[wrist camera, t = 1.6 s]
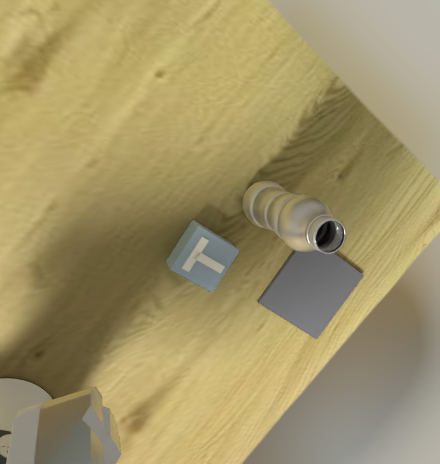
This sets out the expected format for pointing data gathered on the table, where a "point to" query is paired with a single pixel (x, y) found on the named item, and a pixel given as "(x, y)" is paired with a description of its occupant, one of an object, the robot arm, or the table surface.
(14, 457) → the robot arm
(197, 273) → the letter block
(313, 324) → the charcoal mat
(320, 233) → the plastic bottle
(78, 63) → the table surface
